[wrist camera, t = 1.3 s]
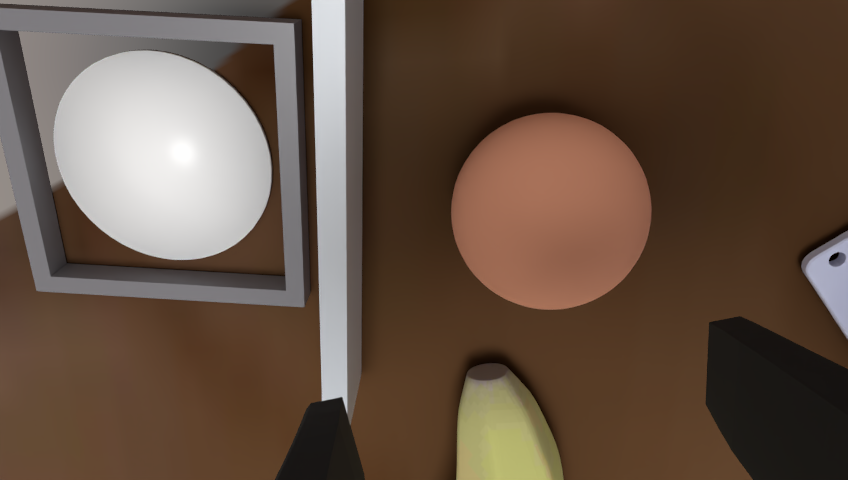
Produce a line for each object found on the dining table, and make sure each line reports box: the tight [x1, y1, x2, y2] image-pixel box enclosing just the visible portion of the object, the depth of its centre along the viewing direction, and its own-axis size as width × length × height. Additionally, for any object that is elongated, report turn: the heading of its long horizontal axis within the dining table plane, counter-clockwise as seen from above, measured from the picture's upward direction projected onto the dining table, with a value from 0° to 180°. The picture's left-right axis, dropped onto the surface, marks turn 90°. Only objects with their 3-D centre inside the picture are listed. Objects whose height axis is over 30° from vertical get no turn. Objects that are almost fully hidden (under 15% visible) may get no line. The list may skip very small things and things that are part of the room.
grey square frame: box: [0, 4, 310, 307], centre depth 21 cm, size 9×9×1 cm
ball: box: [451, 113, 652, 310], centre depth 18 cm, size 6×6×6 cm
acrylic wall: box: [312, 0, 363, 425], centre depth 19 cm, size 16×1×4 cm, turn 177°
